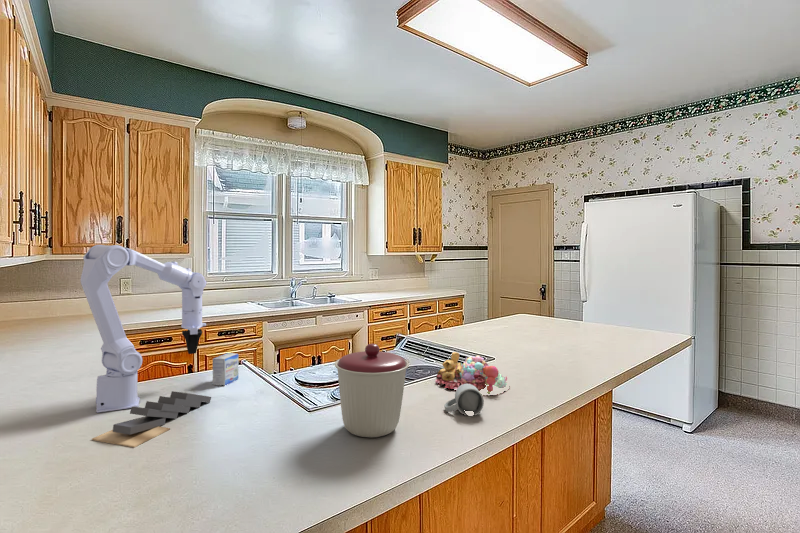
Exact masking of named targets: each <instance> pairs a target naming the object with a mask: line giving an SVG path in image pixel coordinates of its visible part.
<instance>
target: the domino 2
mask: <svg viewBox="0 0 800 533" xmlns="http://www.w3.org/2000/svg"><path fill="white" fill-rule="evenodd" d="M129 414H131V415H137V416H142V417H145V416H151V417H163V418H166V419H177V418H178V415H179V412H173V411H163V410H156V409H149V408H145V407H140V406H139V407H132V408H130V411H129Z"/></svg>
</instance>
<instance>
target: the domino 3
mask: <svg viewBox="0 0 800 533" xmlns="http://www.w3.org/2000/svg"><path fill="white" fill-rule="evenodd" d="M144 408H149V409H156V410H163V411H173V412H178V413H183V414H190V410H191V407H189V406H180V405H172V404H165V403H158V401H157V402H156V401H148V400H146V402H145V405H144Z"/></svg>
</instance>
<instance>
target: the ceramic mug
mask: <svg viewBox="0 0 800 533" xmlns="http://www.w3.org/2000/svg"><path fill="white" fill-rule="evenodd" d="M484 400H485V399H484V397H483V396H482V394H481V393H480V392H479V390H478V389H477V388H476V387H475V386H473V385H471V384H462V385H461V386H459V387H458V388H457V390H456V391H455V394H454V398H451V399H450V400H448V401H447V402H445V404H444V410H445V411H446V412H447V411H448V412H447V413H451V412H454V411H457V410H458V412H460V413H461V414H462V415H463V414H464V416H466V415H467V414H466V413H465V411H473V412H474V415H475V416H477V415H479V414H480V413H481V411H483V408H484V405H485V401H484ZM464 410H465V411H464Z"/></svg>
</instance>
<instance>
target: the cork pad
mask: <svg viewBox="0 0 800 533" xmlns="http://www.w3.org/2000/svg"><path fill="white" fill-rule="evenodd" d="M169 430H171V428H170V427H165V426H158V427H154V428H151V429H148V430H144V431H141V432H137V433H134V434H131V435H129V434H123V433H117V432H113V429H110V430H109V431H106V432H103V433H102V434H99V435H97V436H95V437H93V438H91V441H96V442H102V443H107V444H112V445H119V446H124V447H129V448H136V447H138V446H140V445H142V444H145V443H146V442H148V441H150V440H152V439H154V438H156V437H158V436H160V435H162V434H164V433H166V432H168V431H169Z"/></svg>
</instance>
